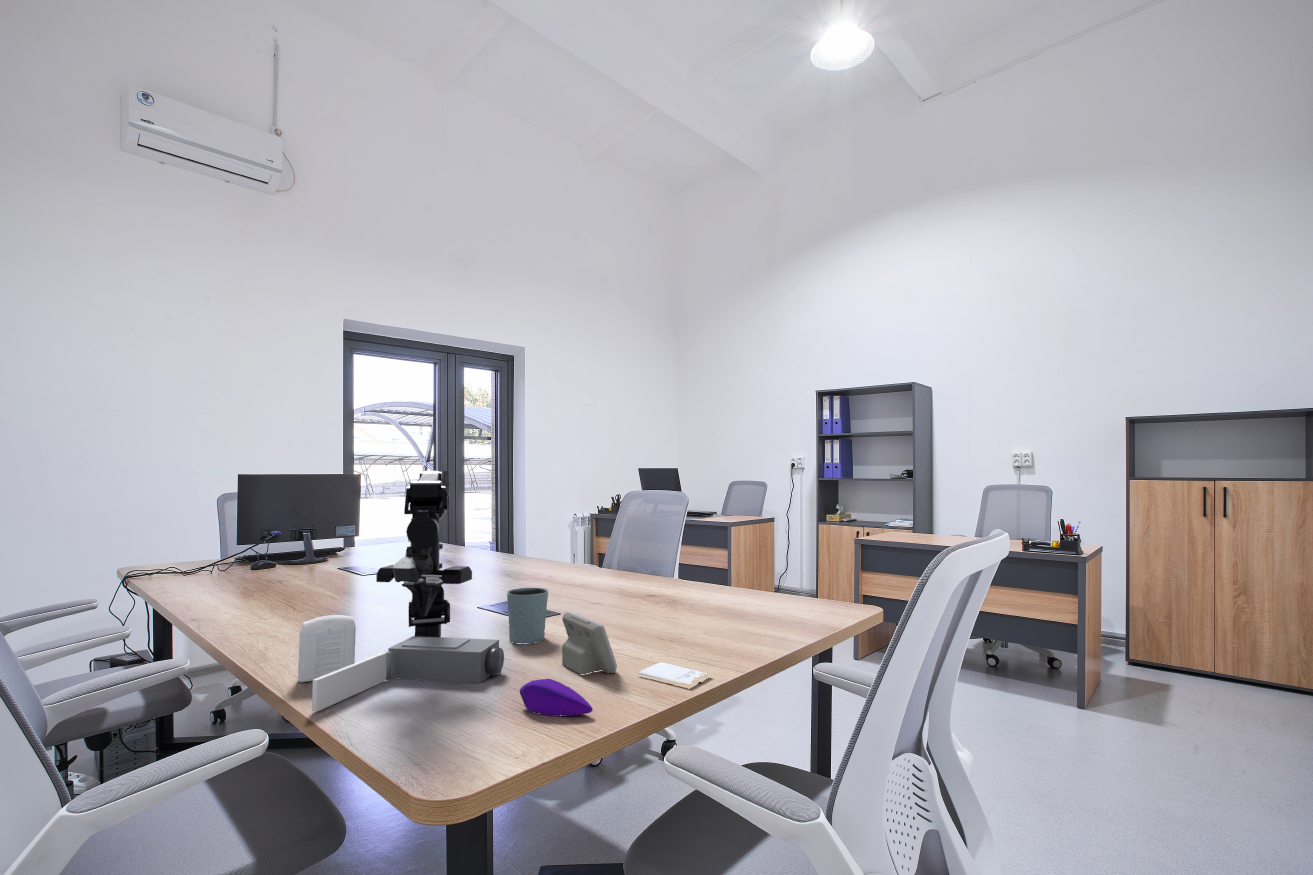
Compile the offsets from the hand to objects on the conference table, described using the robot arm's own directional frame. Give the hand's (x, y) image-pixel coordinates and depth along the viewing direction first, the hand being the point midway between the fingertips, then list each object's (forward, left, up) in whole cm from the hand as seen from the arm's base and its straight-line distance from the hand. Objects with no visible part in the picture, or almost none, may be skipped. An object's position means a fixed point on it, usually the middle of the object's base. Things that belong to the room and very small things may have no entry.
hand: (423, 615), depth 125 cm
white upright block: (+4, -19, -12) cm, 23 cm away
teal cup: (-28, +12, -12) cm, 33 cm away
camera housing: (-2, +4, -12) cm, 13 cm away
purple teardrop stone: (+14, +33, -12) cm, 38 cm away
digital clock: (-10, +33, -12) cm, 36 cm away
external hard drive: (-6, +52, -13) cm, 54 cm away
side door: (+13, -7, -12) cm, 18 cm away
